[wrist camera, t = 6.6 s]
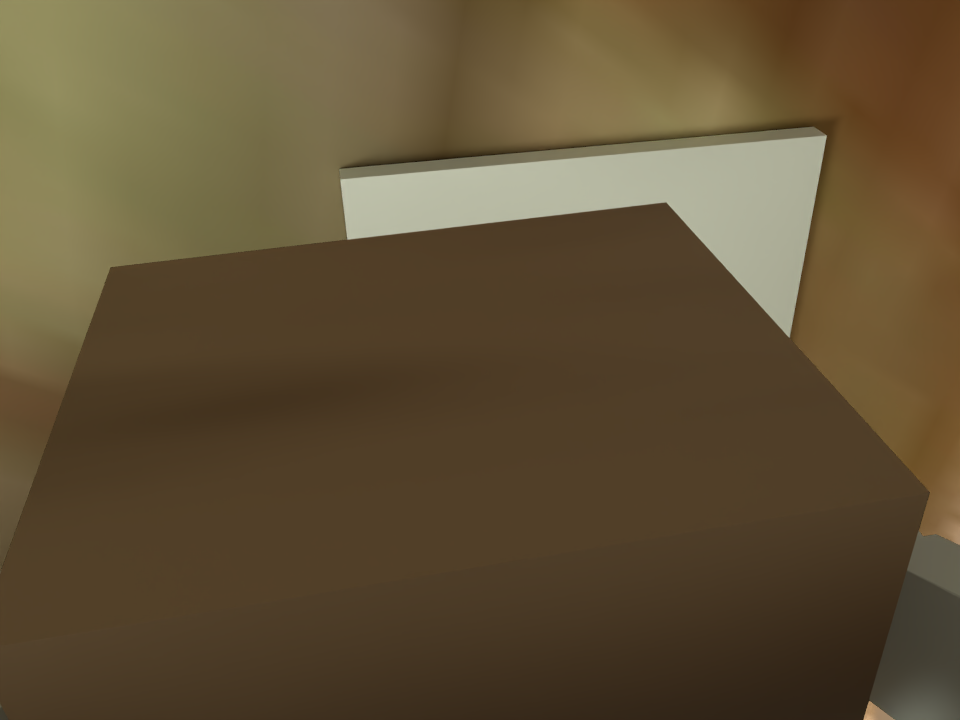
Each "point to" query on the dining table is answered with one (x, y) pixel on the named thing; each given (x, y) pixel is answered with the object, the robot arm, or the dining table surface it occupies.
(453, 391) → the walnut block
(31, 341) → the dining table surface
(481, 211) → the plate
